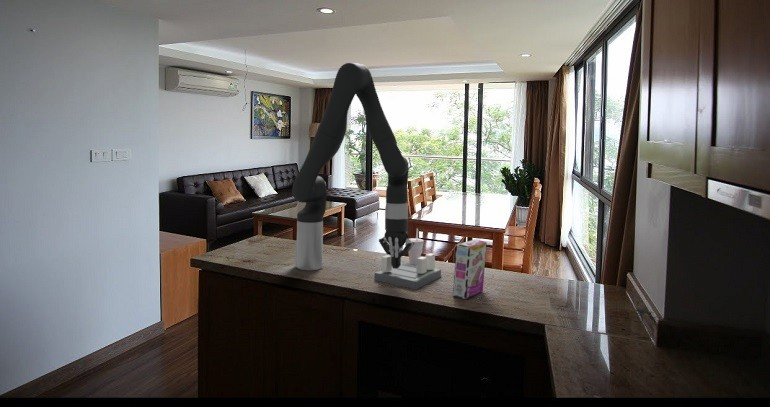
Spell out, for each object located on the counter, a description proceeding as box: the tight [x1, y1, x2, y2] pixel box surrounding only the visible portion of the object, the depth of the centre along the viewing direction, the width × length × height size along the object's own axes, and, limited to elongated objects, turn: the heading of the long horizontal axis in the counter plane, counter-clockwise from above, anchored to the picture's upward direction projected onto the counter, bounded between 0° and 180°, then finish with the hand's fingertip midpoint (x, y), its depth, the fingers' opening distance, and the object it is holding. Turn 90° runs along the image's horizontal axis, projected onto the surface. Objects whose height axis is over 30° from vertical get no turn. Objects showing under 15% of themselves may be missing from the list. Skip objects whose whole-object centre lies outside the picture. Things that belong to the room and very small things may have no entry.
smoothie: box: [408, 228, 425, 265], centre depth 179 cm, size 6×6×14 cm
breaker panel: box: [373, 252, 442, 290], centre depth 161 cm, size 16×18×8 cm
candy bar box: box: [452, 239, 488, 300], centre depth 146 cm, size 11×5×16 cm, turn 141°
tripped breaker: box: [380, 254, 392, 272], centre depth 158 cm, size 2×4×5 cm, turn 148°
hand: (396, 267), depth 157 cm, fingers closed
